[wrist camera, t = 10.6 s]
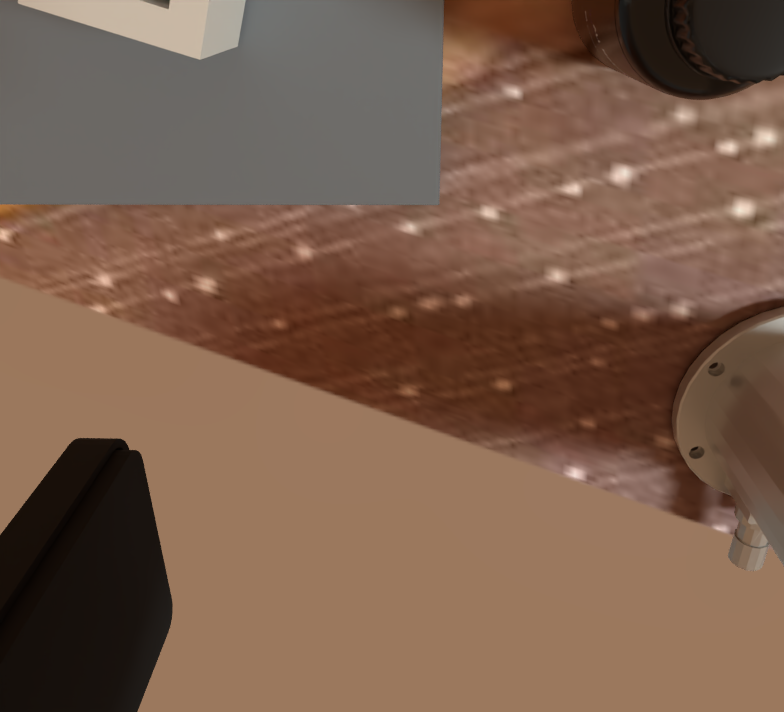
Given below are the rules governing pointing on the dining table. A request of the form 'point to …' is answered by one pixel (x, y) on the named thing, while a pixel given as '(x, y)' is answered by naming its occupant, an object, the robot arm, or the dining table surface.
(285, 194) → the board
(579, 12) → the supplement bottle
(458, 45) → the dining table surface
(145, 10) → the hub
